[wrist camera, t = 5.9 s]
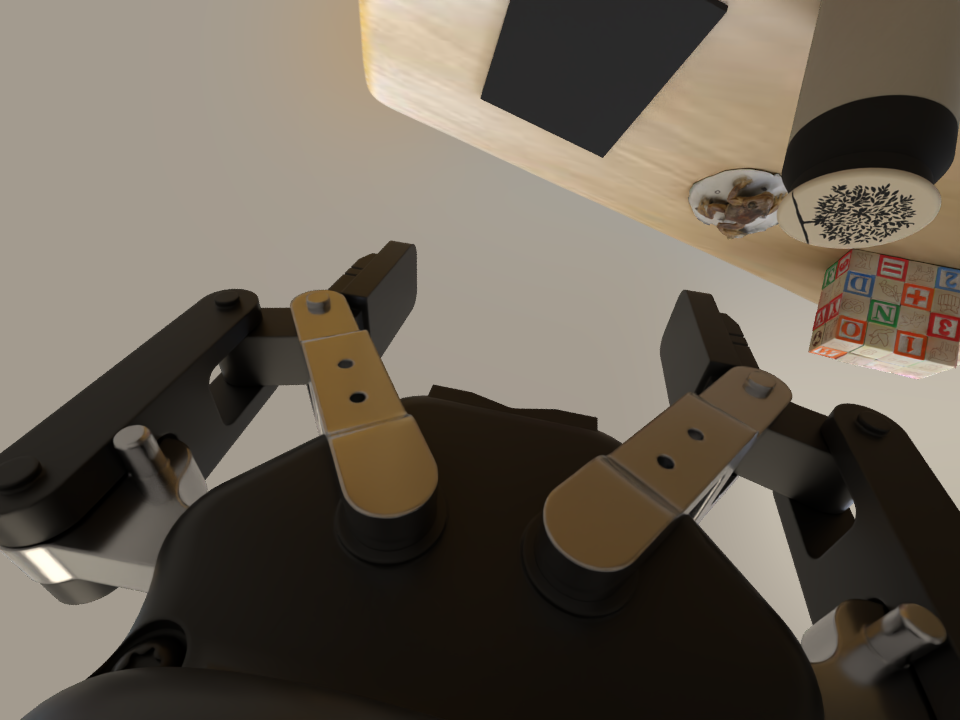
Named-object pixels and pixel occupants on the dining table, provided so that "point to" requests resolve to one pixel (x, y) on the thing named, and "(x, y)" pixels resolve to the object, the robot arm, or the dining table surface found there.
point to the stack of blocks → (889, 315)
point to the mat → (592, 62)
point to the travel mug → (873, 122)
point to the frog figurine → (738, 201)
